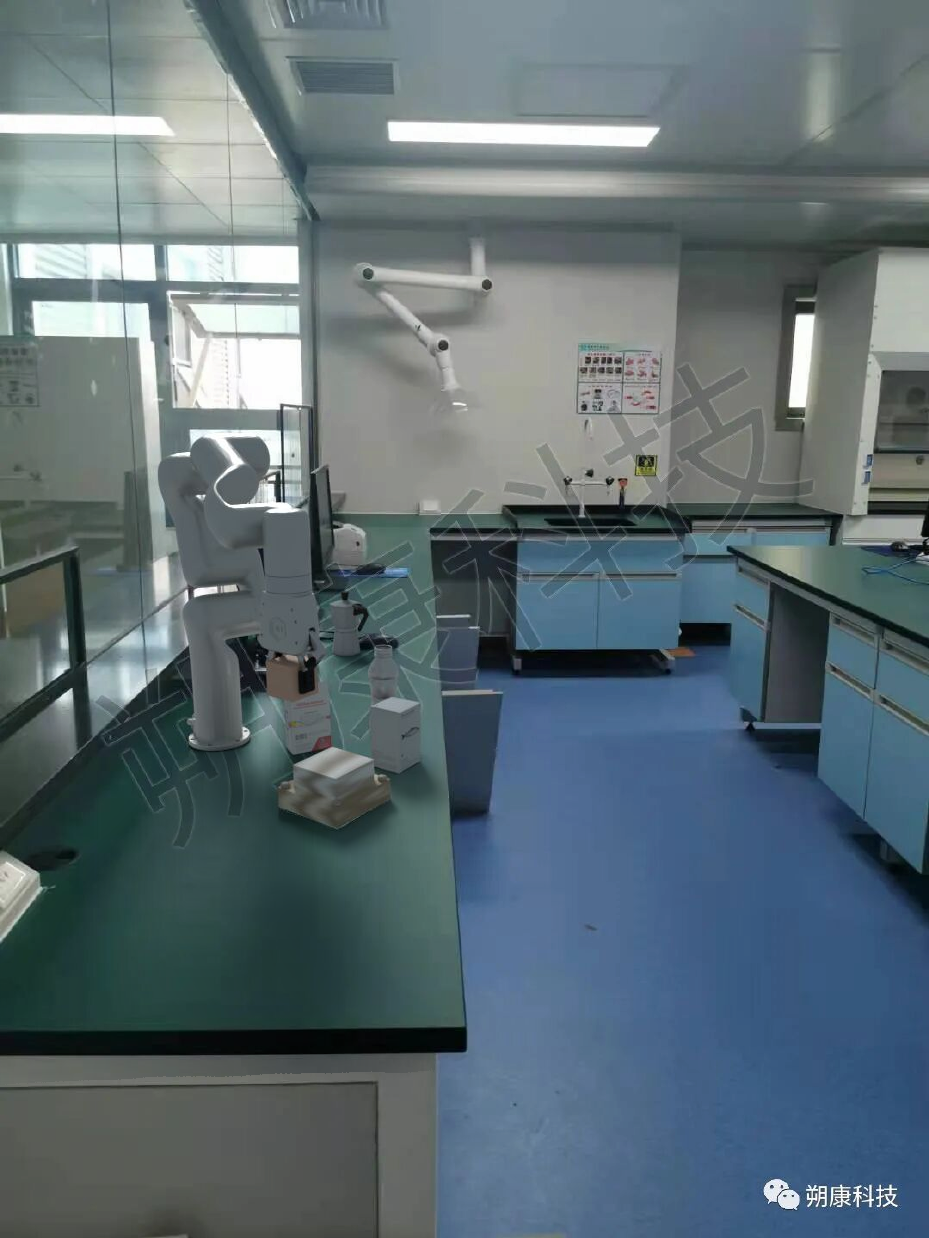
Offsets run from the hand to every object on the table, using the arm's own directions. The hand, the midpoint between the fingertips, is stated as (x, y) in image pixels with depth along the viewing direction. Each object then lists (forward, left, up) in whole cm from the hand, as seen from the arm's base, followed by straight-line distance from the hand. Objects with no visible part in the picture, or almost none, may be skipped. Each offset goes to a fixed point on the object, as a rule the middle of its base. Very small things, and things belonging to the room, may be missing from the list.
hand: (292, 687), depth 142 cm
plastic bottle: (-9, +35, -23) cm, 43 cm away
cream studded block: (+4, +5, -23) cm, 24 cm away
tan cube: (0, 0, -1) cm, 1 cm away
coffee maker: (-58, +79, -23) cm, 101 cm away
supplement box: (+2, +25, -23) cm, 34 cm away
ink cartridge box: (-18, +21, -23) cm, 36 cm away
